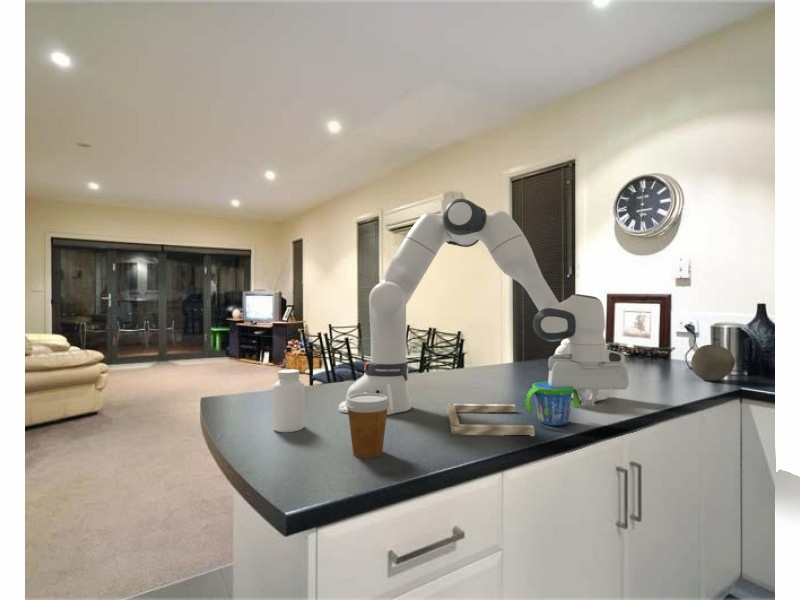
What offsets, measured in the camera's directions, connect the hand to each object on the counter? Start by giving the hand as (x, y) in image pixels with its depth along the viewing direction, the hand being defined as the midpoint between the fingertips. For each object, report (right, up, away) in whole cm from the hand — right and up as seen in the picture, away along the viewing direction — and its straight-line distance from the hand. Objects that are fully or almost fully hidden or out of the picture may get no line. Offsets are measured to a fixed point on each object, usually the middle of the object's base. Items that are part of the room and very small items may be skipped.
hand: (587, 405), depth 114 cm
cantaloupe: (+79, -5, +61) cm, 100 cm away
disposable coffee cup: (-58, -5, -22) cm, 62 cm away
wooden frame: (-27, -5, +2) cm, 28 cm away
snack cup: (-9, -5, +1) cm, 10 cm away
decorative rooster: (+8, -5, +28) cm, 29 cm away
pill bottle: (-80, -5, -4) cm, 80 cm away
